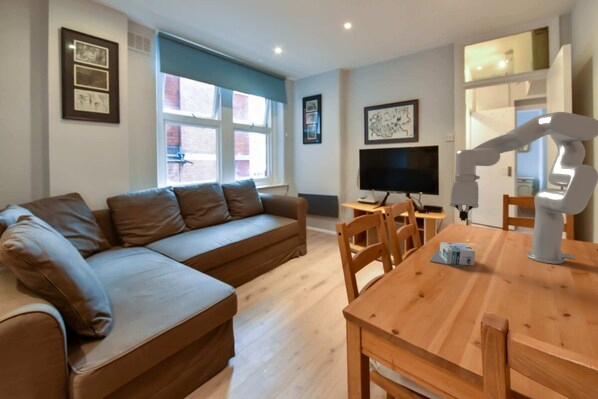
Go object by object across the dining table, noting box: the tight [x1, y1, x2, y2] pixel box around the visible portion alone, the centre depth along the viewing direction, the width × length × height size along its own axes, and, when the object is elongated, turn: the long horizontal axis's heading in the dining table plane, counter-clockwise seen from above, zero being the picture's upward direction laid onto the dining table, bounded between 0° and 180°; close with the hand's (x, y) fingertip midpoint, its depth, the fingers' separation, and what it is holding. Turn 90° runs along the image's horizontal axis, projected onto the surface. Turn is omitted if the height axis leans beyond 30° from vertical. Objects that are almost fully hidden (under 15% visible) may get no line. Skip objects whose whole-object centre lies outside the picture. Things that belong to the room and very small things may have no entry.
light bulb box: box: [439, 241, 476, 266], centre depth 120 cm, size 11×7×11 cm
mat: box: [429, 247, 466, 269], centre depth 125 cm, size 13×20×1 cm, turn 144°
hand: (463, 220), depth 120 cm, fingers closed
